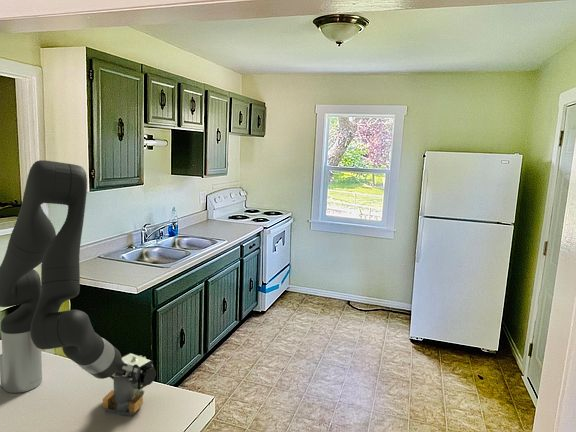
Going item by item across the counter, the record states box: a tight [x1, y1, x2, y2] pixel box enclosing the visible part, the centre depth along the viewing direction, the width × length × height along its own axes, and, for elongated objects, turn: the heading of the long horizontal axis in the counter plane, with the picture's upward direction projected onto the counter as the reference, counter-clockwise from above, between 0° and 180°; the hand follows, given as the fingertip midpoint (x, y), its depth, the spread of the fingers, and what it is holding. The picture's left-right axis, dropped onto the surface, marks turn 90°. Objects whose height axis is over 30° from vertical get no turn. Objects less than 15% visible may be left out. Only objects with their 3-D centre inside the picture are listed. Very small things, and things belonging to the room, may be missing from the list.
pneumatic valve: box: [121, 352, 157, 401], centre depth 114 cm, size 6×12×12 cm, turn 63°
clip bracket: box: [102, 389, 144, 418], centre depth 109 cm, size 9×5×4 cm, turn 80°
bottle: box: [113, 360, 133, 404], centre depth 108 cm, size 5×5×10 cm
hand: (127, 378), depth 110 cm, fingers closed on bottle, 4 cm apart
